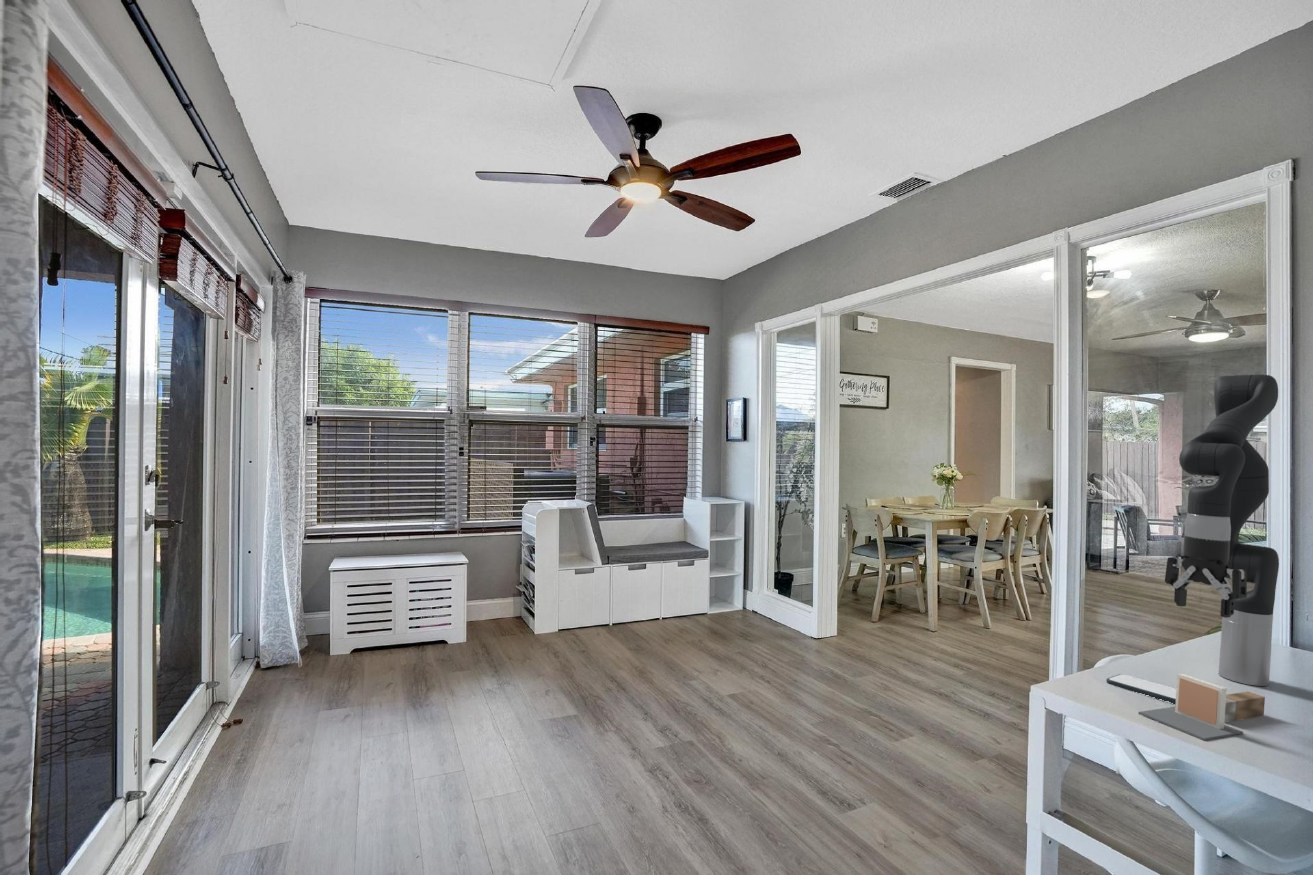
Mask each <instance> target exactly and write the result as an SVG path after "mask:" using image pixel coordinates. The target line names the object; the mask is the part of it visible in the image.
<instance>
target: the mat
mask: <svg viewBox="0 0 1313 875" xmlns="http://www.w3.org/2000/svg"><path fill="white" fill-rule="evenodd" d="M1140 714H1141V716H1142V715H1143V717H1145V716H1146V718H1147V717H1148V719H1150V720H1152V719H1153V721H1155V722H1157V721H1158V722H1157V723H1160V724H1163V725H1164V726H1167V727H1170V728H1172V729H1175V730H1177V731H1180V732H1182V733H1185V734H1187V735H1189V736H1192V737H1194V738H1196V739H1197V738H1198V739H1199V740H1201V741H1204V742H1205V741H1208V740H1215V739H1220V738H1226V737H1230V736H1238V735H1242V734H1244V731H1242V730H1241V729H1237V728H1235V727H1231V726H1229V725H1227V724H1224V728H1223V729H1218V728H1215V727H1213V726H1210V725H1207V724H1205V723H1202V722H1200V721H1197V720H1194V719H1192V718H1189V717H1186V716H1184V715H1181V714H1179V713H1176V712H1175V706H1169V707H1163V708H1157V709H1150V710H1144V711H1143V710H1142V711H1138V715H1140ZM1237 734H1238V735H1237Z"/></svg>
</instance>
